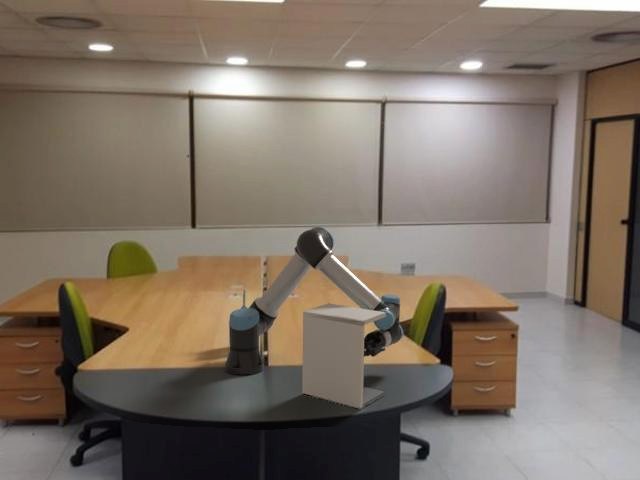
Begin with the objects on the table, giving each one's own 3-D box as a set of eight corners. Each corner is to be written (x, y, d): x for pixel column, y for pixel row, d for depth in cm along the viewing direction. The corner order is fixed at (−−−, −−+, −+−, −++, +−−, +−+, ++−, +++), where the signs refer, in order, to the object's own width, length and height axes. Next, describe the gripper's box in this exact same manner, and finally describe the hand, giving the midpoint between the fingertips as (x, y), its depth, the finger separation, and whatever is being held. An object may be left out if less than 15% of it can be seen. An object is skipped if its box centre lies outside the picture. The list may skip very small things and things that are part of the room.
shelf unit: (360, 410, 203) (362, 321, 200) (302, 394, 217) (302, 311, 213) (384, 395, 216) (386, 312, 213) (327, 382, 230) (328, 303, 227)
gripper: (400, 354, 228) (369, 370, 209) (354, 345, 239) (321, 359, 220) (401, 334, 227) (370, 349, 208) (355, 326, 238) (321, 339, 220)
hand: (345, 354), depth 214 cm, fingers closed on bottle, 7 cm apart
